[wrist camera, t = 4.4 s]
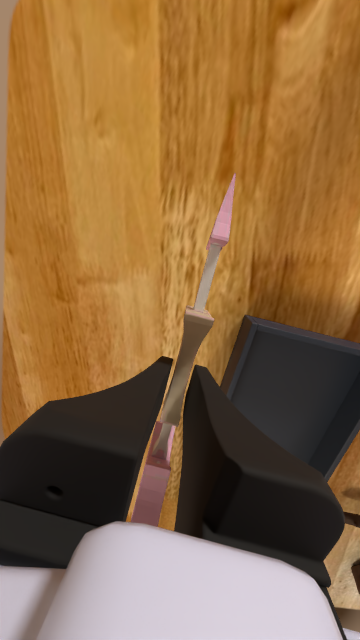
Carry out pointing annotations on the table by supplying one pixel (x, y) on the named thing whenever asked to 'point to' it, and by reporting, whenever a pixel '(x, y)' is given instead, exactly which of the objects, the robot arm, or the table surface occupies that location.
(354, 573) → the bear figurine
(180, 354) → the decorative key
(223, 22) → the table surface
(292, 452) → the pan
